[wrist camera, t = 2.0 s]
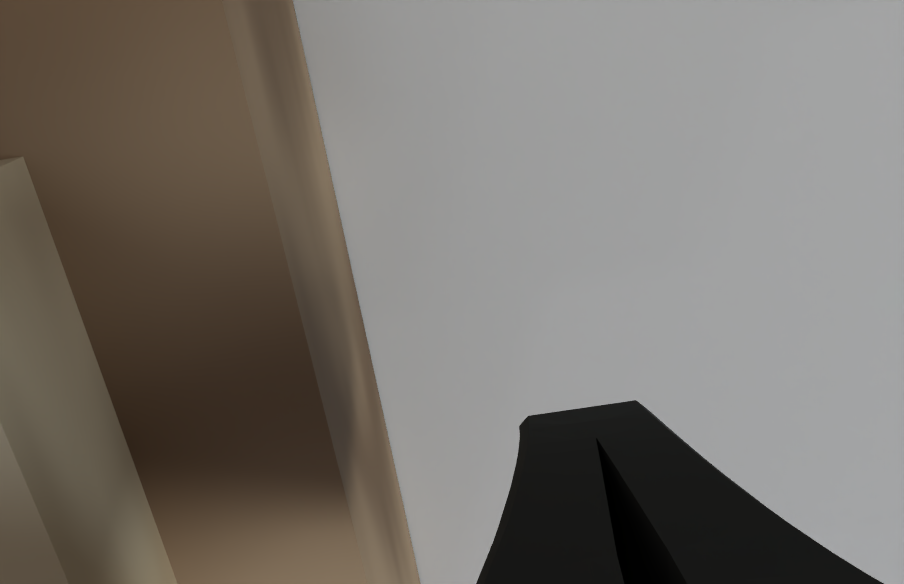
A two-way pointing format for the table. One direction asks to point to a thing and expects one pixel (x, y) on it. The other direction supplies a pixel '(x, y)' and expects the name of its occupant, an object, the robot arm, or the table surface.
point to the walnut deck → (211, 279)
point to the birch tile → (60, 425)
